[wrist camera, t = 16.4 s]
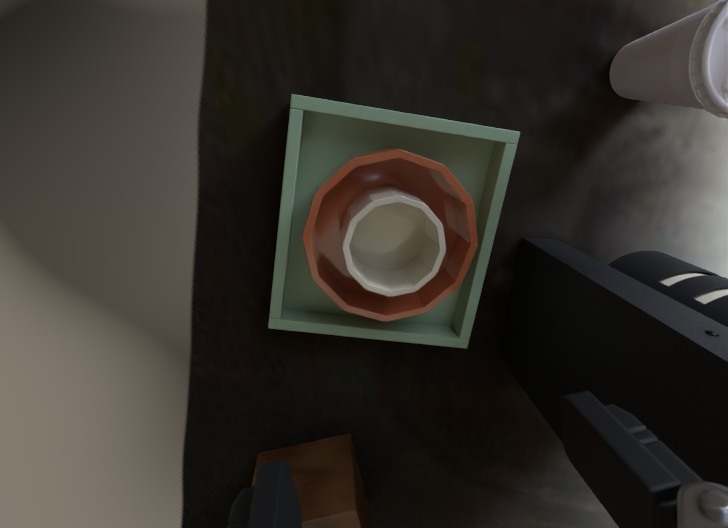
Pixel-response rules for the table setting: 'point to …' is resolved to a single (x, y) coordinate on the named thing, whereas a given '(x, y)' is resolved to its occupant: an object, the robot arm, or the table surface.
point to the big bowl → (409, 175)
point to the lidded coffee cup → (679, 63)
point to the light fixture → (625, 343)
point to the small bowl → (391, 241)
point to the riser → (325, 482)
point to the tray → (360, 134)
